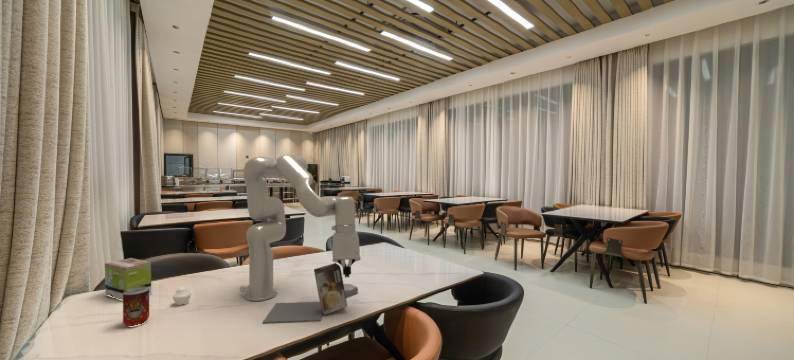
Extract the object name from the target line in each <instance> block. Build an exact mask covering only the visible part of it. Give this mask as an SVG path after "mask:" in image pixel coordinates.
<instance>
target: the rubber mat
mask: <svg viewBox="0 0 794 360" xmlns="http://www.w3.org/2000/svg"><path fill="white" fill-rule="evenodd" d="M323 315H324V313H323V311H322V310H321V306H320V301H304V302H303V301H302V302H301V301H300V302H275V304H274V305H273V307H272V308H271V310H270V311H269V313H268V314H267V315H266V317H265V318H264V319H263V321H262V324H285V323H286V324H287V323H308V322H311V323H312V322H313V323H314V322H315V323H316V322H321V321H322V317H323Z"/></svg>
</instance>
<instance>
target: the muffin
mask: <svg viewBox="0 0 794 360" xmlns="http://www.w3.org/2000/svg"><path fill="white" fill-rule="evenodd" d="M191 296H192V292H191V290H189V289H188V288H187V287H186V286H179V287H178V288H177V289H176V291H175V293H174V294H173V295H172V299H173V301H174V303H175V304H176V305H177V306H178V305H181V306H183V305H182V304H185V305H186V303H187V304H188V302H189V300H190V298H191Z"/></svg>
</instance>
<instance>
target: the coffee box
mask: <svg viewBox="0 0 794 360" xmlns="http://www.w3.org/2000/svg"><path fill="white" fill-rule="evenodd" d="M313 272H314V279H315V283H316V288H317V295H318V302H320V306H321V310H322V311H323V315H328V314H330V313H333V312H336V311H339V310H341V309H343V308H346V307H348V302H347V298H346V296H345V290H344V284H345V283H344V280H343V279H344V278H343V272H342V269H341V265H340V264H339V263H336V262H333V263H331V264H328V265H324V266H321V267H317V268H314V269H313Z"/></svg>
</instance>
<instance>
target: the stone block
mask: <svg viewBox="0 0 794 360" xmlns="http://www.w3.org/2000/svg"><path fill="white" fill-rule="evenodd" d="M343 284H344V290H345V296H346V299H348V298H349V297H352V296H354V295H356V294H358V293H359V288H358V286H356V285H354V284H352V283H343Z"/></svg>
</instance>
